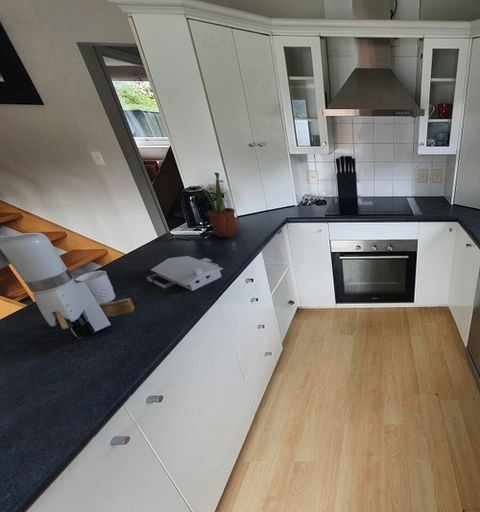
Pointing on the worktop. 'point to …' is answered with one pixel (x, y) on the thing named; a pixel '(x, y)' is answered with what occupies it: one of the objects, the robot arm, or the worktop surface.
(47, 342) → the worktop surface
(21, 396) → the worktop surface
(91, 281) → the white cup
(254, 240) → the worktop surface
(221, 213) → the potted plant
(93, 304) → the milk carton
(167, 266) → the grey portable case
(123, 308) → the rail
